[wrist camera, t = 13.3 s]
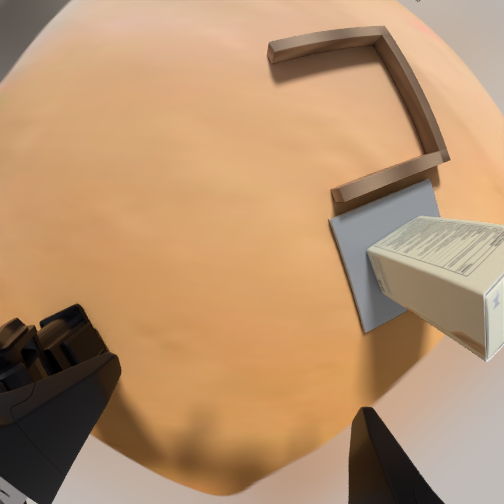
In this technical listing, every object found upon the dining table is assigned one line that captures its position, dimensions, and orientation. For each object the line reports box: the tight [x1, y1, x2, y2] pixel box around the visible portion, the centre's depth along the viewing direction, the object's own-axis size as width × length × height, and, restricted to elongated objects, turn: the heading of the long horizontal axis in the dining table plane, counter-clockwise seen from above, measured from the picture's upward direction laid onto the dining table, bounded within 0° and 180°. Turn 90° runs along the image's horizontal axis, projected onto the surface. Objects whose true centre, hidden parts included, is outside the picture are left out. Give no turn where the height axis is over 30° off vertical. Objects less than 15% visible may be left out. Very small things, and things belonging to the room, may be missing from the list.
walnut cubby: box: [267, 26, 450, 202], centre depth 17 cm, size 11×13×2 cm
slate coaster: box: [328, 179, 440, 333], centre depth 20 cm, size 10×10×1 cm
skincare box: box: [367, 216, 504, 362], centre depth 14 cm, size 6×4×12 cm
